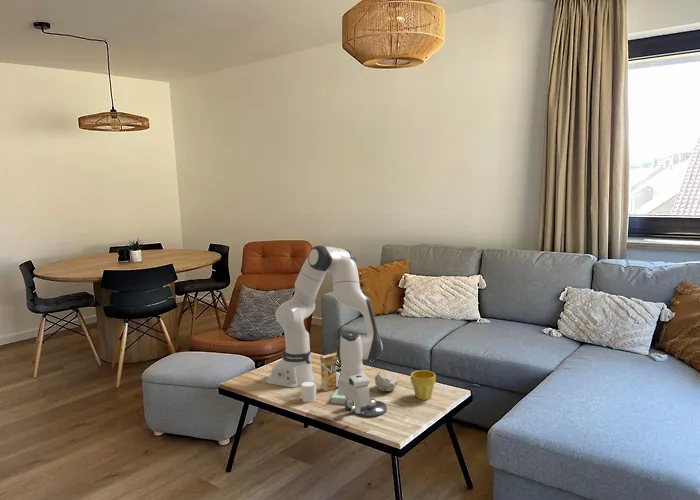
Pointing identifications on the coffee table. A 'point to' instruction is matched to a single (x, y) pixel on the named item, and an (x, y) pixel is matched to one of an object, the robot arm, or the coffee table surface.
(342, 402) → the tray
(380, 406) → the base
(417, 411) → the coffee table surface
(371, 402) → the crank
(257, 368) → the coffee table surface
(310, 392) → the white cylinder
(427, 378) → the plant pot
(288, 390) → the coffee table surface
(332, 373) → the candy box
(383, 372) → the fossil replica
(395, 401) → the coffee table surface
